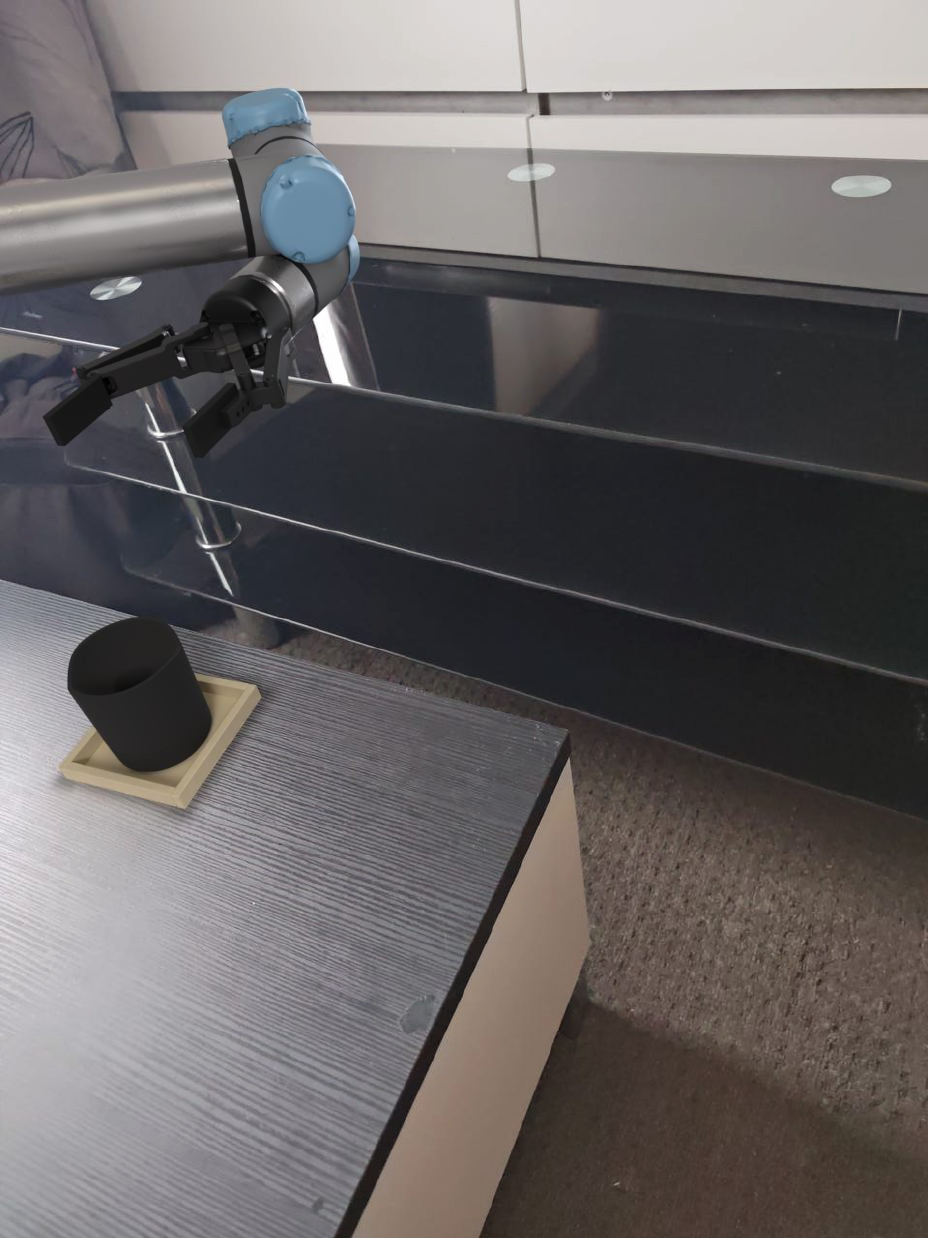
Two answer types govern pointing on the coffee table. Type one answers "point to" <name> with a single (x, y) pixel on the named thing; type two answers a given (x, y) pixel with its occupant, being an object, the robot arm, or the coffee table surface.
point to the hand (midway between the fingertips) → (120, 437)
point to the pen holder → (140, 693)
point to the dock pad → (180, 781)
